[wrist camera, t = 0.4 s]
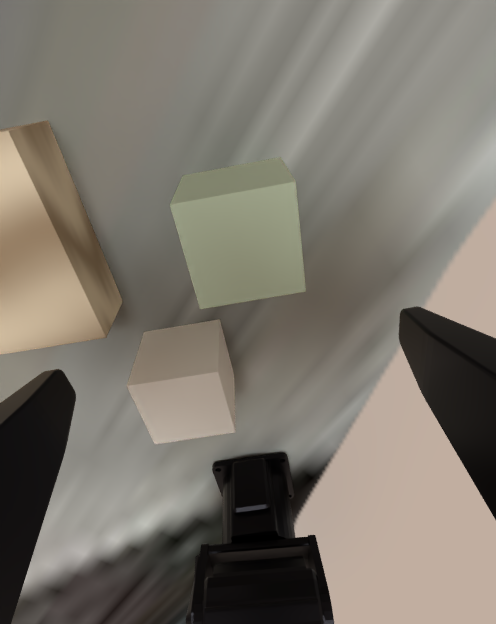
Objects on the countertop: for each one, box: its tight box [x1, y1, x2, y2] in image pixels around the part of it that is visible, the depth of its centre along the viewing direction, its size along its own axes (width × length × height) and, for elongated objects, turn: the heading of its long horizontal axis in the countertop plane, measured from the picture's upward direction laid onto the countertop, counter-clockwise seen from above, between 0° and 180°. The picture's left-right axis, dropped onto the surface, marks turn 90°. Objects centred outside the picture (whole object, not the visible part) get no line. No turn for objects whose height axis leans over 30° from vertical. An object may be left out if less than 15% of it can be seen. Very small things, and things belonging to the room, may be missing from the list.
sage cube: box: [170, 157, 306, 309], centre depth 18 cm, size 5×5×5 cm
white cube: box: [127, 319, 235, 444], centre depth 23 cm, size 5×5×5 cm
